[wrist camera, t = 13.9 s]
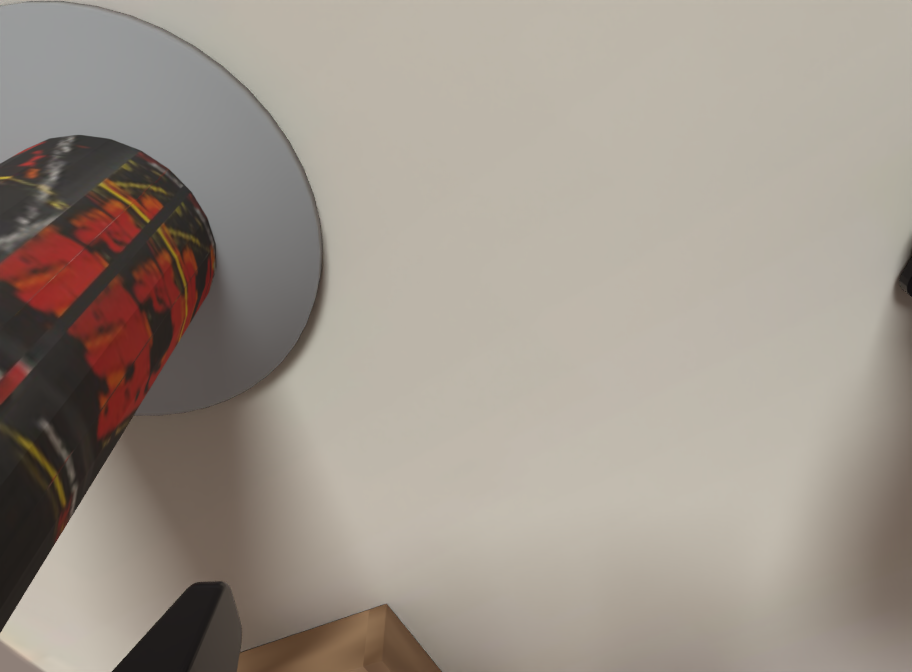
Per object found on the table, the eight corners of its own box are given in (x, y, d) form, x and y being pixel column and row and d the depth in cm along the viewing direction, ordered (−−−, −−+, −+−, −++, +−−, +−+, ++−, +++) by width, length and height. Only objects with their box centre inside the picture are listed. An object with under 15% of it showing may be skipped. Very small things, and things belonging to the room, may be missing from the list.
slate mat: (346, 58, 18) (343, 62, 17) (303, 428, 24) (299, 440, 23) (-174, -51, 16) (-194, -49, 16) (-79, 372, 22) (-91, 383, 22)
